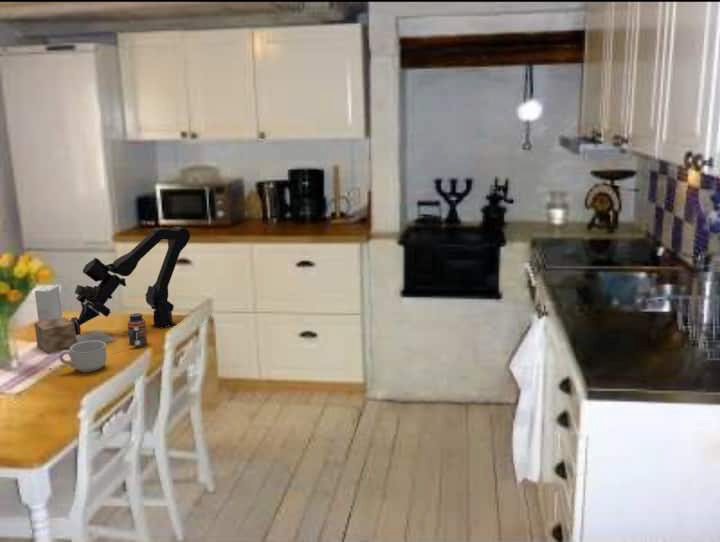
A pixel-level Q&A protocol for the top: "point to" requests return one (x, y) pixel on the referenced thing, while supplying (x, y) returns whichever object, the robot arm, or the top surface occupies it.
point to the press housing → (55, 335)
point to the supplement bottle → (137, 330)
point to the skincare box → (48, 303)
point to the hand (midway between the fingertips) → (78, 324)
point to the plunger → (76, 325)
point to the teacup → (86, 355)
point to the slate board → (88, 337)
